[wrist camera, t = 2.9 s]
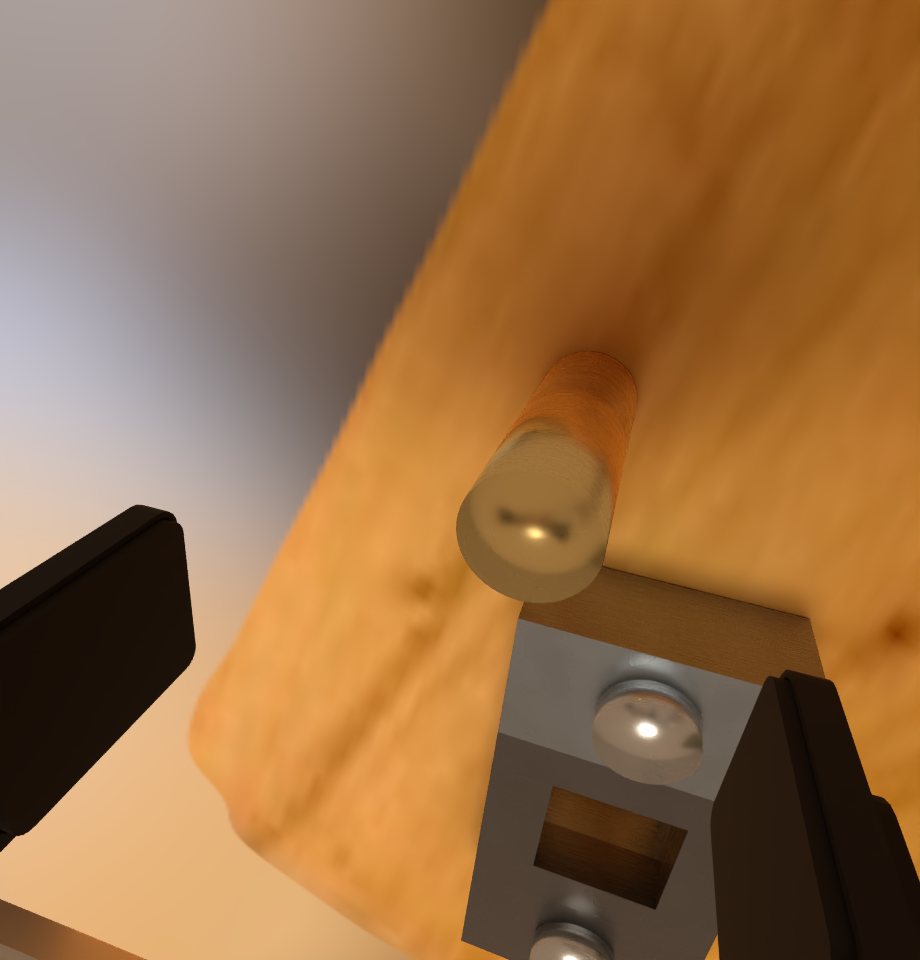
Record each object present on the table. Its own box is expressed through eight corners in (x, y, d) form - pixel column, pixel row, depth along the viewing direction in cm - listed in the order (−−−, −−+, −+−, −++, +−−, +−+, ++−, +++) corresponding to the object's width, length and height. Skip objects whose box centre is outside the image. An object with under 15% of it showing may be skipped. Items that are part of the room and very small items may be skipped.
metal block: (542, 551, 23) (510, 638, 19) (809, 618, 21) (840, 732, 17) (485, 856, 32) (454, 964, 28) (673, 925, 30) (671, 1053, 26)
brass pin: (549, 343, 20) (464, 455, 12) (647, 361, 20) (620, 490, 12) (534, 431, 22) (450, 581, 14) (625, 450, 21) (589, 619, 13)
